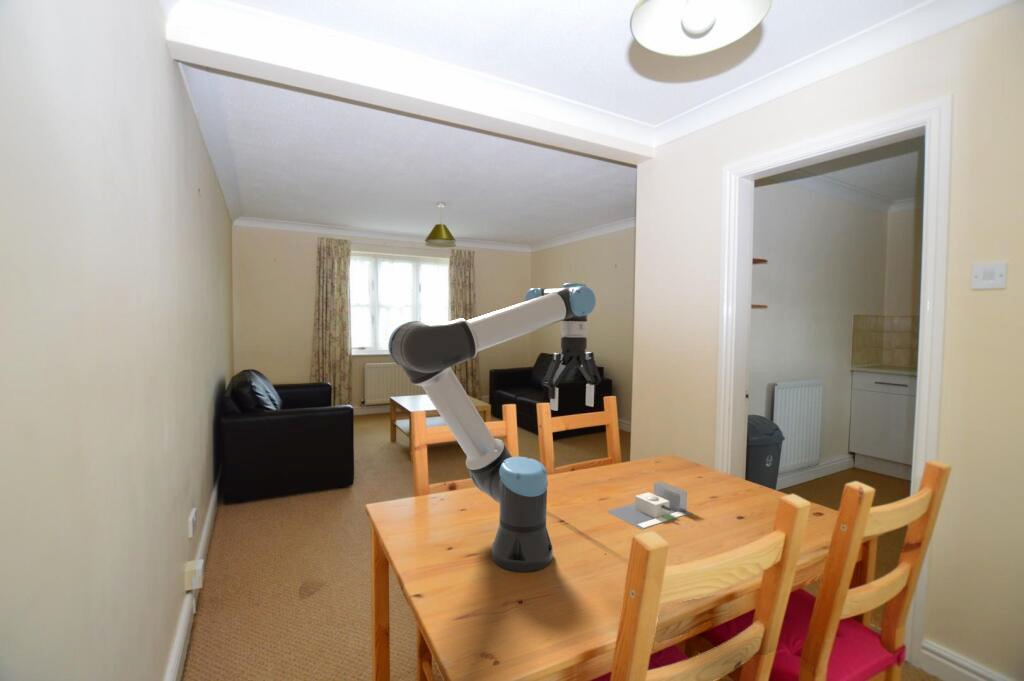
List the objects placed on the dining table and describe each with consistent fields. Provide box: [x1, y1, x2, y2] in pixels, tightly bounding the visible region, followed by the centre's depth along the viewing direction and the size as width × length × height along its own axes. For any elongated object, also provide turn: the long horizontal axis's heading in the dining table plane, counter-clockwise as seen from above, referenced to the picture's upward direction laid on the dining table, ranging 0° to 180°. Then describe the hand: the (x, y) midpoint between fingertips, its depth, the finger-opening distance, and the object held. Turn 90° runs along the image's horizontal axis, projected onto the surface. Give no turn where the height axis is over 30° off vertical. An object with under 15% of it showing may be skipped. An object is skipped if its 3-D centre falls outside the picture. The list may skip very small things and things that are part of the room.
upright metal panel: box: [653, 481, 688, 512], centre depth 145 cm, size 3×10×6 cm, turn 32°
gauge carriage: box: [634, 491, 671, 518], centre depth 140 cm, size 6×11×4 cm, turn 32°
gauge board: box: [606, 502, 693, 530], centre depth 141 cm, size 22×14×2 cm, turn 122°
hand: (572, 407), depth 138 cm, fingers open, 13 cm apart
